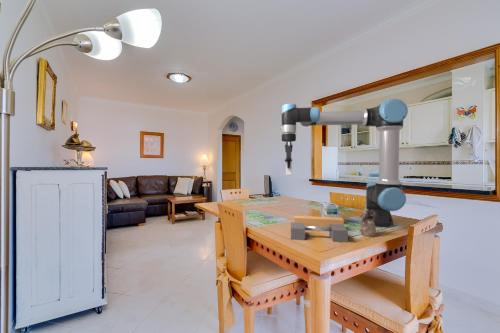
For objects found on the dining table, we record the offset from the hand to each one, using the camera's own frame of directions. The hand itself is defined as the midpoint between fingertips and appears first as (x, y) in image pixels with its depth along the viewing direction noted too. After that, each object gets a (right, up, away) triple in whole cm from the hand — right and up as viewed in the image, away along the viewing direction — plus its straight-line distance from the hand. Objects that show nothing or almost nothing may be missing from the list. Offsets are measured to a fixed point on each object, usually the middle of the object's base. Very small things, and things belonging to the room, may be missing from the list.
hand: (288, 173), depth 128 cm
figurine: (+35, -29, -14) cm, 47 cm away
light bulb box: (+25, -28, +8) cm, 38 cm away
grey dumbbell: (+10, -29, -18) cm, 35 cm away
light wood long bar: (+15, -28, -4) cm, 32 cm away
